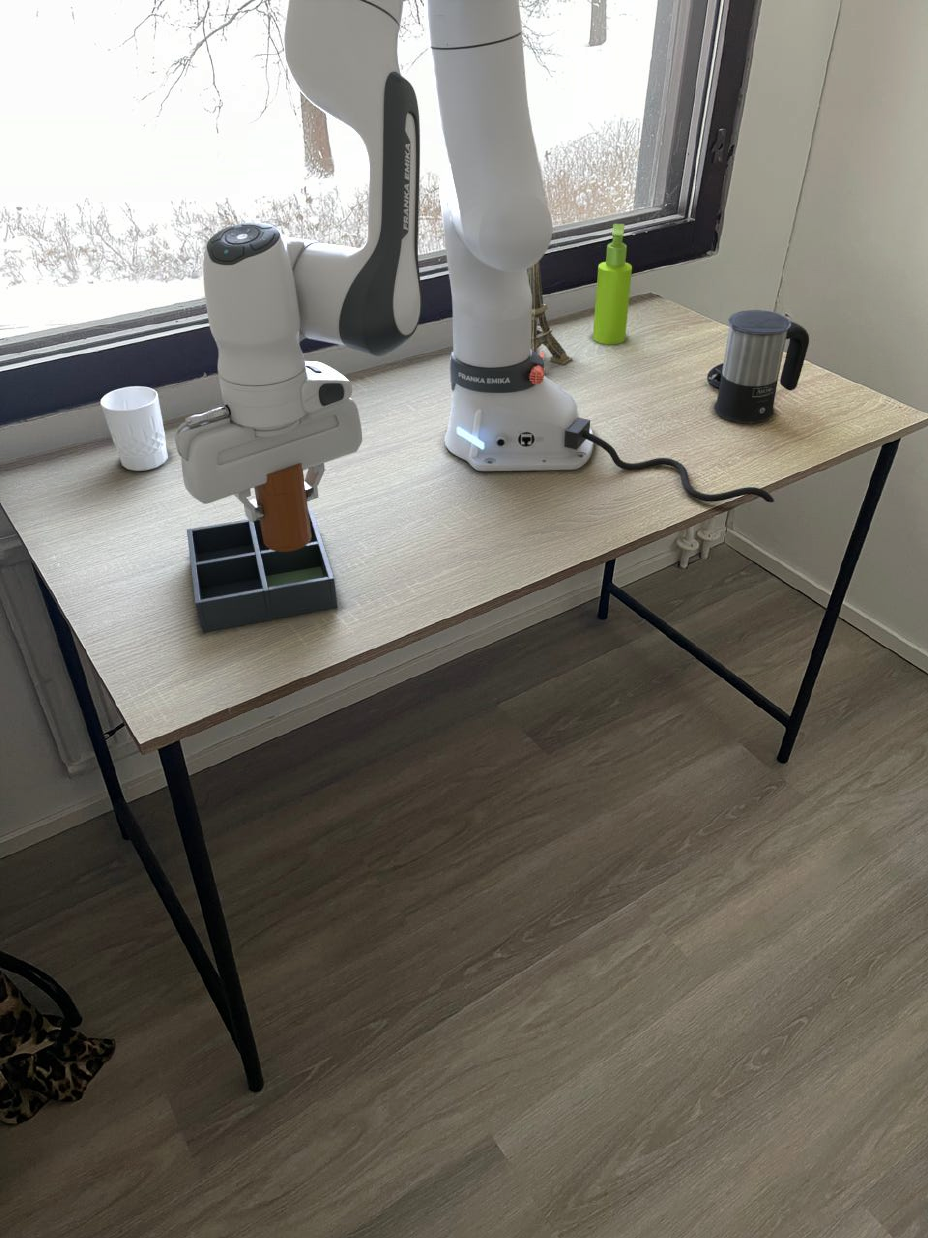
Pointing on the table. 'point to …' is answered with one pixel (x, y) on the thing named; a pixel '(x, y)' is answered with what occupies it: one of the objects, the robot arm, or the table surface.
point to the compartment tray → (256, 576)
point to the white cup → (136, 427)
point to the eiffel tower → (542, 319)
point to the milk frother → (757, 364)
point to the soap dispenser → (612, 292)
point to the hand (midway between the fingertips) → (283, 507)
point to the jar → (284, 510)
